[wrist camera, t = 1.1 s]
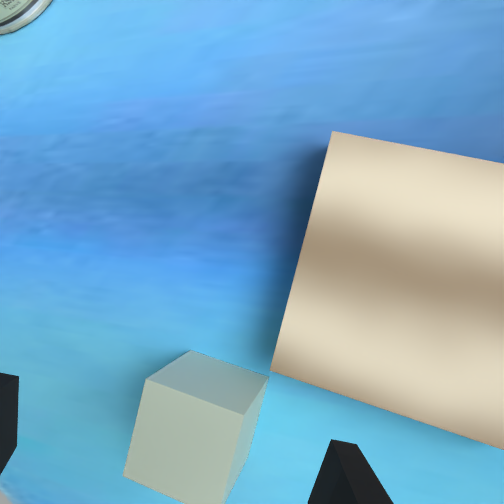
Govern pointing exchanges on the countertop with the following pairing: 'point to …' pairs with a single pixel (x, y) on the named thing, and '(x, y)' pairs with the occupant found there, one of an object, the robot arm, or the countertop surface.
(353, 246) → the birch slab
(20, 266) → the countertop surface
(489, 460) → the countertop surface
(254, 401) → the sage block
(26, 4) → the coffee can
